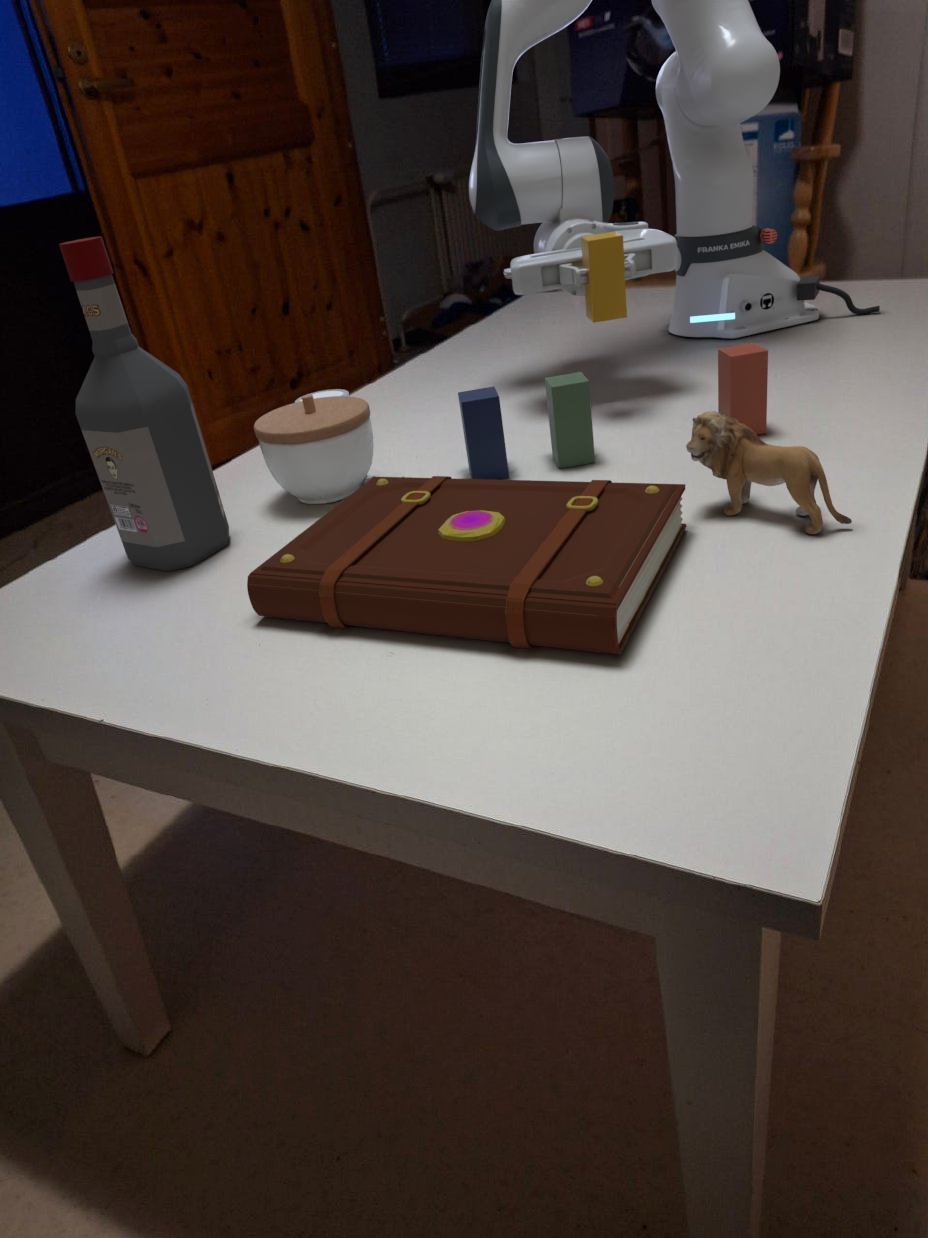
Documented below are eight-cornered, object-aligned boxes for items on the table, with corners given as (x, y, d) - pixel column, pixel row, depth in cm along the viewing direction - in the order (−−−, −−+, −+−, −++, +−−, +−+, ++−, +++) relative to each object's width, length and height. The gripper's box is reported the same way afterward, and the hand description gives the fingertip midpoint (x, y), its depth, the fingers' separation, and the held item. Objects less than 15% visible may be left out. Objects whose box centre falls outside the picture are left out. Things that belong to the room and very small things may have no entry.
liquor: (179, 576, 87) (68, 247, 72) (118, 564, 92) (3, 253, 77) (244, 536, 93) (155, 227, 79) (185, 527, 98) (90, 234, 84)
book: (382, 514, 93) (373, 468, 91) (687, 527, 80) (685, 475, 78) (254, 623, 76) (239, 571, 74) (616, 664, 63) (612, 602, 60)
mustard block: (618, 311, 108) (614, 231, 104) (627, 317, 105) (623, 234, 100) (586, 316, 108) (580, 236, 104) (593, 322, 105) (588, 240, 100)
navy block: (504, 465, 101) (494, 386, 96) (509, 477, 97) (499, 395, 93) (469, 471, 101) (457, 392, 96) (473, 483, 97) (461, 402, 93)
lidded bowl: (401, 470, 104) (383, 375, 99) (355, 514, 94) (333, 412, 89) (306, 471, 109) (284, 381, 103) (253, 514, 99) (225, 417, 93)
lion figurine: (678, 514, 83) (676, 419, 79) (705, 492, 86) (704, 401, 82) (839, 540, 74) (846, 435, 70) (863, 516, 77) (871, 414, 73)
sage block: (587, 450, 101) (581, 371, 97) (595, 462, 98) (589, 380, 93) (552, 456, 101) (544, 377, 97) (559, 468, 97) (551, 386, 93)
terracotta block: (752, 422, 101) (754, 341, 97) (766, 433, 98) (768, 350, 93) (718, 428, 101) (717, 348, 97) (730, 439, 98) (730, 356, 93)
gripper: (498, 244, 114) (513, 258, 101) (657, 219, 114) (691, 230, 102) (504, 296, 117) (519, 316, 105) (658, 271, 117) (692, 287, 105)
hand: (605, 273), depth 103 cm, fingers closed on mustard block, 4 cm apart
